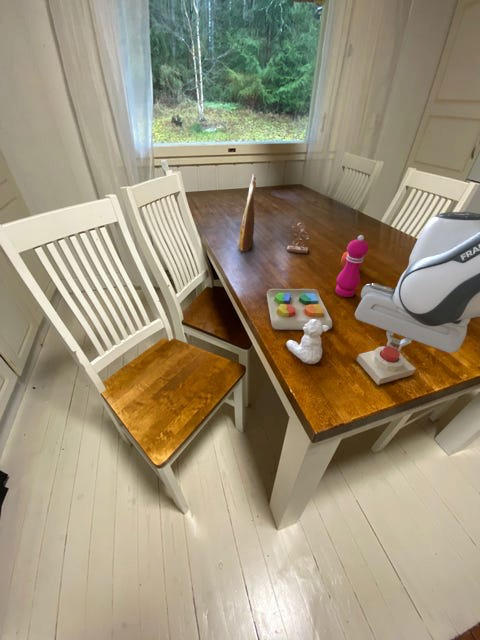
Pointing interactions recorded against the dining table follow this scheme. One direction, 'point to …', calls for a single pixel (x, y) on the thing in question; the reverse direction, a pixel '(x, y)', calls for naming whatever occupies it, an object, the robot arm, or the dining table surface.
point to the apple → (344, 260)
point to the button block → (384, 366)
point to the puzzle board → (296, 308)
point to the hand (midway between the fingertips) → (393, 346)
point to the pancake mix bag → (248, 219)
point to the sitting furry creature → (309, 342)
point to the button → (390, 354)
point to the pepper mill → (352, 267)
